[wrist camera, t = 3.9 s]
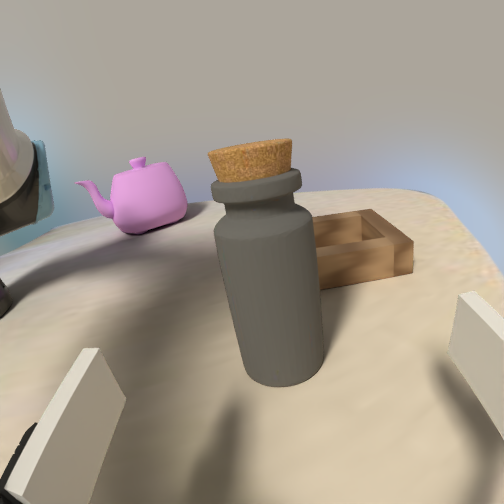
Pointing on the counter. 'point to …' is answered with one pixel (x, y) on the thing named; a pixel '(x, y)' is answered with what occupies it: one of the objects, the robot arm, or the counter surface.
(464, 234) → the counter surface
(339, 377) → the counter surface
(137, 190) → the teapot
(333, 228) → the block
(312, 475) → the counter surface
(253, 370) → the bottle
